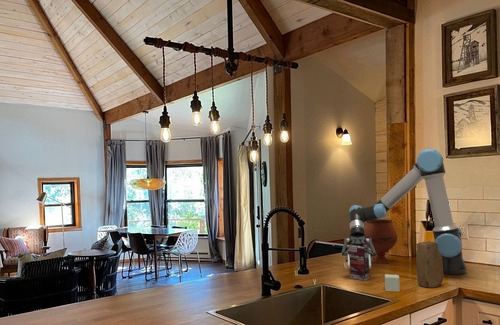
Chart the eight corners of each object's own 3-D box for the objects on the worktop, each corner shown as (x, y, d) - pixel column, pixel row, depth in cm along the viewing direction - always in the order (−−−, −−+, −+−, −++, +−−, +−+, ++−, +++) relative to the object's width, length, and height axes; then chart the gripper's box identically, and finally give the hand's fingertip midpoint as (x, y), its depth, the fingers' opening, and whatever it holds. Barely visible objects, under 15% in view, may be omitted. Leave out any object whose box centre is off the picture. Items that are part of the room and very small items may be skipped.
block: (426, 288, 185) (424, 244, 186) (415, 285, 192) (413, 241, 193) (446, 286, 188) (444, 242, 189) (434, 282, 196) (432, 240, 196)
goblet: (359, 259, 253) (357, 219, 254) (389, 258, 255) (387, 217, 256) (371, 266, 234) (369, 222, 235) (403, 264, 236) (402, 221, 237)
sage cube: (399, 288, 188) (398, 274, 188) (399, 291, 182) (399, 278, 182) (385, 287, 190) (384, 274, 190) (385, 290, 184) (384, 277, 184)
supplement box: (349, 278, 208) (348, 246, 208) (354, 276, 211) (353, 245, 212) (365, 280, 202) (364, 248, 203) (370, 279, 205) (368, 246, 206)
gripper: (378, 235, 220) (382, 271, 204) (336, 234, 225) (336, 270, 209) (379, 226, 215) (383, 263, 199) (335, 226, 220) (336, 262, 204)
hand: (359, 266), depth 204 cm, fingers closed on supplement box, 9 cm apart
